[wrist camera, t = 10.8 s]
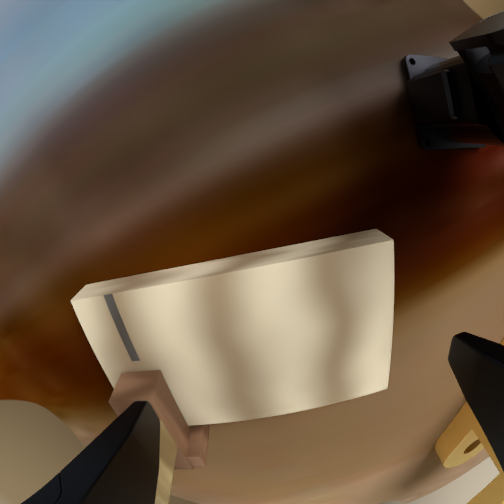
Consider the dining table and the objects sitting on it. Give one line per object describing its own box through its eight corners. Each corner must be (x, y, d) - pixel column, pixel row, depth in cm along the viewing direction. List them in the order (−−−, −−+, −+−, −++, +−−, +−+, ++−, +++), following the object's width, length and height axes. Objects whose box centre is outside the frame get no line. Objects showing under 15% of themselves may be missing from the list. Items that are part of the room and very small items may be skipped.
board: (376, 228, 19) (393, 239, 16) (376, 369, 23) (387, 388, 20) (86, 284, 19) (69, 300, 17) (144, 406, 23) (137, 427, 21)
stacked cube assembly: (179, 350, 20) (149, 470, 11) (209, 421, 23) (202, 524, 13) (118, 356, 20) (69, 460, 11) (155, 424, 23) (134, 519, 13)
